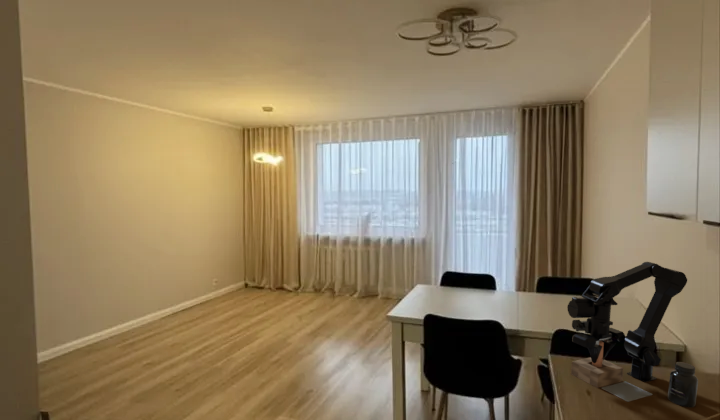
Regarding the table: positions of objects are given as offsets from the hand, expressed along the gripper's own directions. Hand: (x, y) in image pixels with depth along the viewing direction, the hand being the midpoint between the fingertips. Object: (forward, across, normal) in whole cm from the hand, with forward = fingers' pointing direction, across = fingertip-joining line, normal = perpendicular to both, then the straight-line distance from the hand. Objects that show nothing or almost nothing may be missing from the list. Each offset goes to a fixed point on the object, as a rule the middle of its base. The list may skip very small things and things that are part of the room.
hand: (597, 361), depth 143 cm
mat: (+6, -1, +10) cm, 12 cm away
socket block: (+6, 0, 0) cm, 6 cm away
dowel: (+3, 0, 0) cm, 3 cm away
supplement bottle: (+6, -11, +20) cm, 24 cm away
